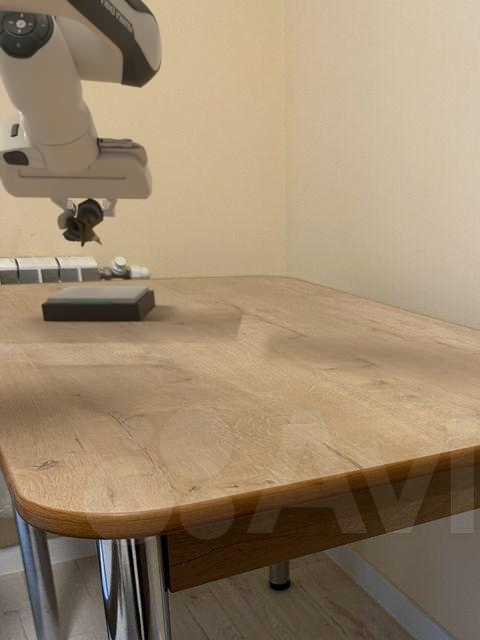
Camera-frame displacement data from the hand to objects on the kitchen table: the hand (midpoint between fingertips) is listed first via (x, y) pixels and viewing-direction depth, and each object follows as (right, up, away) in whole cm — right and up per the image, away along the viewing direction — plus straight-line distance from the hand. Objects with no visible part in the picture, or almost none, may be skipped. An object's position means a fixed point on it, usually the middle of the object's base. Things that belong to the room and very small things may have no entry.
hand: (91, 213), depth 107 cm
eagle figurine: (-1, -5, +1) cm, 5 cm away
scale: (0, -14, +5) cm, 15 cm away
